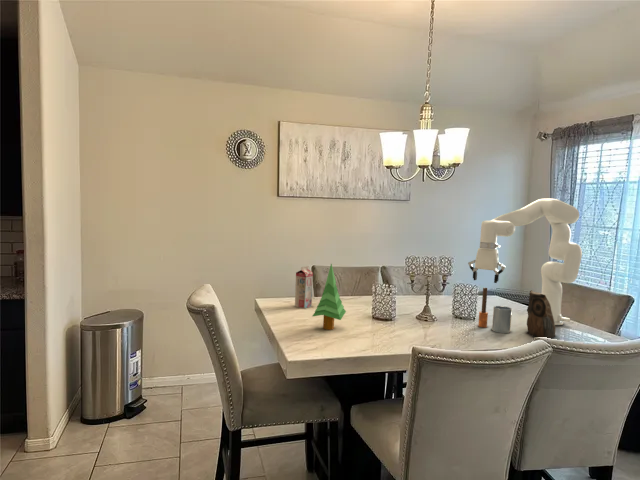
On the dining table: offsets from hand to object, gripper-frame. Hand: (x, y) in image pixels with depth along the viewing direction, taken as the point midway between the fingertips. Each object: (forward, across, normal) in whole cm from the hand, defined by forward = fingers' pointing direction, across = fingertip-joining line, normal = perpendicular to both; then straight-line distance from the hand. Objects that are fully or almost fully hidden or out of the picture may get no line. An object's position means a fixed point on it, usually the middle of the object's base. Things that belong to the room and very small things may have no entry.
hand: (485, 281), depth 219 cm
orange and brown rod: (+22, 0, 0) cm, 22 cm away
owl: (+22, -26, -2) cm, 35 cm away
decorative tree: (+23, +54, +54) cm, 80 cm away
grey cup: (+22, -9, +2) cm, 24 cm away
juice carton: (+23, +89, +26) cm, 95 cm away
